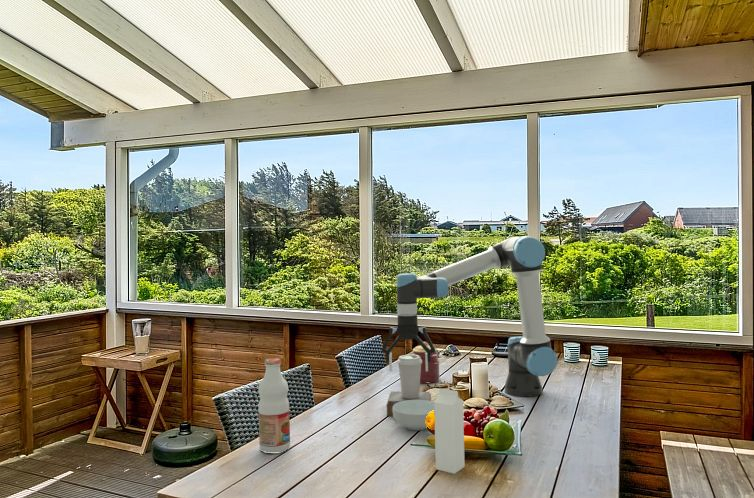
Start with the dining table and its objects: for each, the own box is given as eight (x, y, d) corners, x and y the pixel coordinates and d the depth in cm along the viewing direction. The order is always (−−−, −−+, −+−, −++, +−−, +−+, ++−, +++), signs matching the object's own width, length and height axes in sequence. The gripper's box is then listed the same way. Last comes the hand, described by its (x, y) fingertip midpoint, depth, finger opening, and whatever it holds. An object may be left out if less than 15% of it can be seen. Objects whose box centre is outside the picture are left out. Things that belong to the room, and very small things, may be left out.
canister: (407, 382, 249) (406, 343, 249) (416, 376, 261) (415, 338, 261) (435, 384, 244) (434, 345, 244) (443, 377, 256) (442, 340, 256)
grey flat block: (431, 404, 215) (430, 391, 215) (430, 416, 201) (430, 401, 201) (390, 404, 216) (389, 391, 216) (387, 415, 202) (386, 401, 202)
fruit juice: (259, 445, 176) (256, 357, 175) (289, 442, 178) (286, 355, 178) (260, 456, 167) (257, 363, 166) (291, 452, 169) (288, 361, 168)
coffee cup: (421, 400, 203) (420, 359, 203) (395, 399, 205) (394, 359, 205) (424, 393, 212) (423, 354, 212) (400, 392, 214) (399, 353, 214)
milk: (446, 462, 158) (444, 385, 158) (465, 467, 155) (463, 388, 155) (435, 469, 154) (433, 390, 154) (454, 474, 150) (452, 393, 150)
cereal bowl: (408, 438, 178) (408, 417, 178) (384, 424, 193) (383, 404, 193) (451, 429, 186) (451, 408, 186) (425, 416, 201) (424, 396, 201)
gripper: (440, 312, 211) (441, 368, 211) (375, 313, 213) (377, 368, 213) (440, 315, 203) (442, 372, 203) (373, 316, 206) (374, 372, 206)
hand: (408, 370), depth 208 cm, fingers open, 13 cm apart
